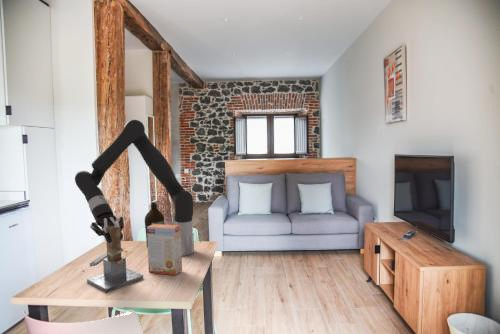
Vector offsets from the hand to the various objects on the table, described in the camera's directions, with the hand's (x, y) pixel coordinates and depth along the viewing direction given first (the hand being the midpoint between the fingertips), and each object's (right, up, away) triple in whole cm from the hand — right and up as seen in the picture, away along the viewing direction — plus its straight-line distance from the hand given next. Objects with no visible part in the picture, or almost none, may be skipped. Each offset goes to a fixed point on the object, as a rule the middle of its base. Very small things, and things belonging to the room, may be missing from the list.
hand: (115, 240), depth 128 cm
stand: (-1, -17, +2) cm, 18 cm away
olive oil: (+2, -15, +48) cm, 50 cm away
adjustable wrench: (-20, -17, +32) cm, 41 cm away
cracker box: (+18, -17, +11) cm, 27 cm away
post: (-1, -11, +2) cm, 12 cm away
